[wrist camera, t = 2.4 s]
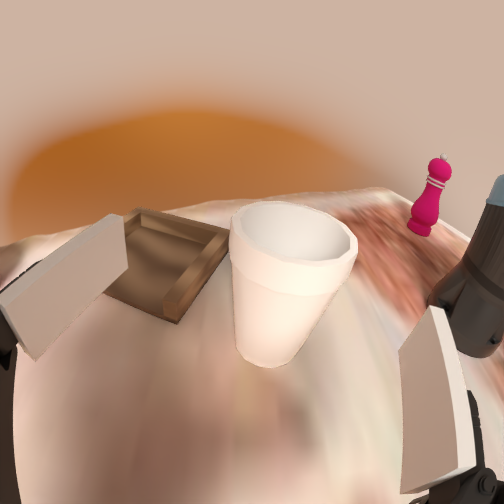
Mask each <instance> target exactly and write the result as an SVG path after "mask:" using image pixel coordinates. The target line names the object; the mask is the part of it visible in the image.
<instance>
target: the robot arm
mask: <svg viewBox="0 0 504 504" xmlns="http://www.w3.org/2000/svg"><path fill="white" fill-rule="evenodd" d="M127 269H128V262H127V253H126V244H125V234H124V222H123V217H122V216H118V215H115V214H111V213H110V214H109V215H107V216H106V217H104V218H103V219H101V220H99V221H98V222H96V223H95V224H93V225H92V226H90V227H89V228H87V229H85V230H84V231H82V232H81V233H80V234H78V235H77V236H75V237H74V238H72V239H71V240H69V241H68V242H66V243H65V244H64V245H62V246H61V247H59V248H58V249H57V250H55V251H54V252H52V253H51V254H50V255H48V256H47V257H46V258H44V259H42V260H40V261H38V262H36V263H34V264H33V265H32V266H30V267H29V268H28V269H26V272H25V271H24V272H23V273H21V274H20V275H19V277H16V278H15V279H14V280H13V281H11V282H10V283H9V284H8V285H7V286H6V287H4V288H3V289H2V290H1V291H0V504H21V499H20V494H19V488H18V482H17V475H16V467H15V458H14V444H13V394H14V380H15V369H16V361H17V353H18V352H17V347H16V344H17V343H18V342H19V344H20V345H21V347H22V348H23V350H24V352H25V353H26V354H27V355H29V356H30V357H31V358H32V359H33V360H34V361H35V362H36V361H37V360H38V358H39V357H40V356H41V355H42V354H43V353H44V352H45V351H46V350H47V348H48V347H49V346H50V345H51V344H52V343H53V342H54V341H55V340H56V339H57V338H58V337H59V336H60V334H61V333H62V332H63V331H64V330H65V329H66V328H67V327H68V326H69V325H70V324H71V323H72V322H73V321H74V320H75V319H76V318H77V317H78V316H79V315H80V314H81V313H82V312H83V311H84V310H85V309H86V308H87V307H88V306H89V305H90V304H91V303H92V302H93V301H94V300H95V299H96V298H97V297H98V296H99V295H100V294H101V293H102V292H103V291H104V290H105V289H106V288H107V287H108V286H109V285H111V284H112V283H113V282H114V281H115V280H116V279H117V278H118V277H119V276H120V275H121V274H122V273H123V272H124V271H126V270H127ZM503 338H504V175H500V176H499V177H498V178H497V179H496V181H495V183H494V185H493V188H492V190H491V193H490V195H489V198H487V199H486V206H485V209H484V211H483V214H482V216H481V219H480V221H479V223H478V226H477V228H476V230H475V233H474V235H473V237H472V239H471V241H470V243H469V245H468V247H467V250H466V252H465V254H464V256H463V257H462V259H461V261H460V262H459V263H458V264H457V265H456V266H455V267H454V268H453V269H452V270H451V271H450V272H449V273H448V274H447V275H446V276H445V277H444V278H443V279H442V280H440V281H439V282H438V283H437V284H436V286H435V287H434V289H433V290H432V292H431V294H430V296H429V297H428V301H427V310H426V311H425V313H424V314H423V316H422V318H421V319H420V321H419V322H418V324H417V325H416V327H415V328H414V329H413V331H412V332H411V334H410V335H409V337H408V338H407V339H406V341H405V342H404V344H403V345H402V346H401V348H400V349H399V350H398V352H399V362H400V373H401V387H402V406H403V455H402V473H401V486H400V494H413V493H419V492H422V491H424V490H427V489H429V494H427V495H425V496H422V497H419V498H417V499H414V500H413V501H411V502H410V503H409V504H416V503H419V504H504V482H503V481H499V480H497V478H496V475H495V473H494V472H493V470H491V469H490V468H485V462H484V450H483V440H482V432H481V428H480V419H479V418H478V416H479V413H478V407H477V402H476V400H475V398H474V396H473V394H472V392H471V391H470V390H466V386H465V381H464V377H463V372H462V368H461V364H460V360H459V357H458V353H457V349H458V350H459V351H461V352H463V353H465V354H467V355H469V356H472V357H476V358H486V357H488V356H490V355H491V354H492V353H493V352H494V351H495V350H496V349H497V347H498V346H499V345H500V344H501V342H502V340H503Z"/></svg>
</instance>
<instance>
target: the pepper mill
mask: <svg viewBox="0 0 504 504" xmlns="http://www.w3.org/2000/svg"><path fill="white" fill-rule="evenodd" d="M440 158H441V159H439V158H435V159H432V160H431V161H430V163H429V165H428V171H429V175H428V176H427V177H428V178H427V179H426V181H427V184H426V187H425V190H424V192H423V193H422V195H421V196H420V197H419V198H418V199H417V200H416V201H415V203H414V204H413V206H412V208H411V214H412V218H410V219H409V222H408V224H407V225H408V227H409V228H410V229H411V230H412V231H413V232H415V233H417V234H419V235H421V236H426V237H427V236H429V234H430V232H431V226H432V225H434V224H436V222H437V220H438V215H439V198H440V194H441V192H442V190H443V189H445V185H446V184H445V182H446V181H447V180H449V179H450V177H451V173H452V170H451V167H450V165H449V164H448V163H447V162H446V160H447V155H446V154H444V153H442V154H441V156H440Z"/></svg>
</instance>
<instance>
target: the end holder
mask: <svg viewBox="0 0 504 504" xmlns="http://www.w3.org/2000/svg"><path fill="white" fill-rule="evenodd" d="M123 222H124V234H125V244H126V253H127V262H128V269H127V270H126V271H124V272H123V273H122V274H121V275H120V276H119V277H118V278H117V279H116V280H115V281H114V282H113V283H112V284H111V285H109V286H108V287H107V288H106V289H105V290H104V291H103V293H105V294H107V295H109V296H111V297H113V298H116V299H118V300H120V301H122V302H124V303H127V304H129V305H131V306H133V307H136V308H138V309H140V310H143V311H145V312H147V313H150V314H152V315H154V316H157V317H159V318H162V319H164V320H167V321H169V322H172V323H174V324H178V323H179V321H180V320H181V318H182V317H183V315H184V314H185V312H186V311H187V310H188V308H189V307H190V305H191V304H192V302H193V301H194V299H195V298H196V297H197V295H198V294H199V292H200V291H201V289H202V288H203V287H204V285H205V284H206V282H207V281H208V279H209V278H210V277H211V275H212V274H213V272H214V271H215V269H216V268H217V267H218V265H219V264H220V262H221V261H222V259H223V258H224V257H225V255H226V254H227V252H228V251H229V245H228V244H229V235H230V230H228V229H224V228H221V227H217V226H213V225H209V224H205V223H201V222H198V221H194V220H190V219H186V218H182V217H178V216H174V215H170V214H166V213H162V212H158V211H154V210H150V209H146V208H142V207H137V208H136V209H134V210H133V211H131V212H130V213H128V214H127V215H125V216H124V217H123Z"/></svg>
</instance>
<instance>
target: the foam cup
mask: <svg viewBox="0 0 504 504" xmlns="http://www.w3.org/2000/svg"><path fill="white" fill-rule="evenodd" d="M228 245H229V253H230V260H231V262H232V286H233V309H234V329H235V341H236V348H237V350H238V351H239V353H240V354H241V355H242V357H243V358H244V359H245V360H247V361H249V362H250V363H252V364H254V365H256V366H259V367H267V368H275V367H279V366H282V365H286V364H287V363H288V362H289V361H290V360H291V359H292V358H293V357H294V356H295V355H296V354H297V352H298V351H299V350H300V348H301V347H302V345H303V344H304V342H305V341H306V339H307V338H308V336H309V335H310V333H311V332H312V330H313V329H314V327H315V326H316V324H317V323H318V321H319V320H320V318H321V317H322V315H323V313H324V312H325V310H326V309H327V307H328V305H329V304H330V302H331V301H332V299H333V297H334V296H335V294H336V292H337V291H338V289H339V287H340V286H341V285H342V284H343V283H344V282H345V281H346V280H347V279H348V277H349V274H350V272H351V269H352V267H353V264H354V262H355V259H356V257H357V254H358V243H357V238H356V237H355V235H354V234H353V233H352V232H351V231H350V229H349V228H348V227H347V226H346V225H345V224H343V223H342V222H340V221H339V220H337V219H336V218H334V217H332V216H331V215H329V214H327V213H325V212H322V211H319V210H317V209H314V208H311V207H309V206H306V205H301V204H295V203H290V202H284V201H259V202H255V203H252V204H249V205H245V206H242V207H241V208H240V209H239V210H238V211H237V212H236V213H235V214H234V215H233V216H232V217H231V226H230V235H229V244H228Z"/></svg>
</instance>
